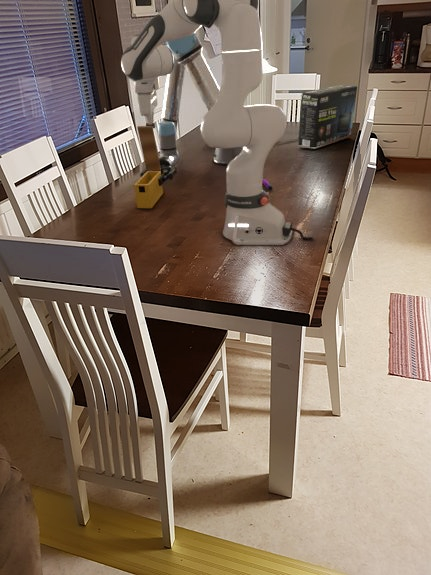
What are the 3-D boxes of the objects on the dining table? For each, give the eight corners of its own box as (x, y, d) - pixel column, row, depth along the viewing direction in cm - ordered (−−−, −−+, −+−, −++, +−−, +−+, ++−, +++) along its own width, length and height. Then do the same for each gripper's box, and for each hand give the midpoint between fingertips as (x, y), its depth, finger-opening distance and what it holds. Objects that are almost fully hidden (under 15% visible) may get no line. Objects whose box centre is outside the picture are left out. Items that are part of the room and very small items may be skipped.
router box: (314, 151, 231) (318, 94, 217) (296, 148, 237) (299, 92, 224) (352, 138, 251) (358, 85, 238) (335, 135, 258) (340, 83, 245)
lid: (152, 127, 168) (157, 117, 174) (137, 127, 169) (142, 117, 174) (160, 170, 180) (164, 160, 186) (146, 170, 181) (151, 160, 187)
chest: (151, 208, 171) (148, 184, 167) (137, 208, 172) (133, 184, 168) (163, 193, 186) (160, 171, 181) (149, 193, 187) (146, 171, 182)
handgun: (242, 177, 199) (242, 173, 198) (259, 175, 200) (259, 171, 199) (254, 192, 182) (254, 188, 181) (273, 190, 183) (273, 185, 182)
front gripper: (142, 80, 176) (146, 117, 184) (133, 89, 159) (138, 129, 166) (159, 79, 176) (162, 117, 184) (151, 88, 159) (155, 129, 166)
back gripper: (186, 173, 199) (175, 191, 180) (144, 173, 202) (129, 191, 182) (185, 156, 195) (174, 172, 176) (142, 156, 198) (126, 172, 178)
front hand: (150, 123), depth 175 cm, fingers closed, pressing on lid
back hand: (151, 182), depth 179 cm, fingers closed on chest, 6 cm apart
